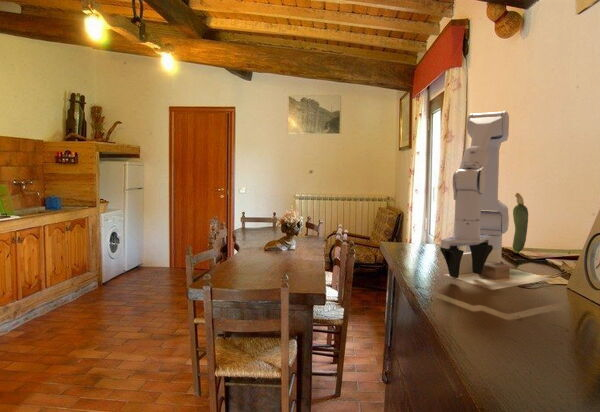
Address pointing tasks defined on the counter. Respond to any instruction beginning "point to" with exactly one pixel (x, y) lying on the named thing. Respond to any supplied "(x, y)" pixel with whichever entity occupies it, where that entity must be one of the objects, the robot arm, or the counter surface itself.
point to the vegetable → (520, 224)
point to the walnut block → (495, 270)
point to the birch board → (513, 280)
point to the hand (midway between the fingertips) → (465, 275)
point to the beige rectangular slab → (467, 260)
